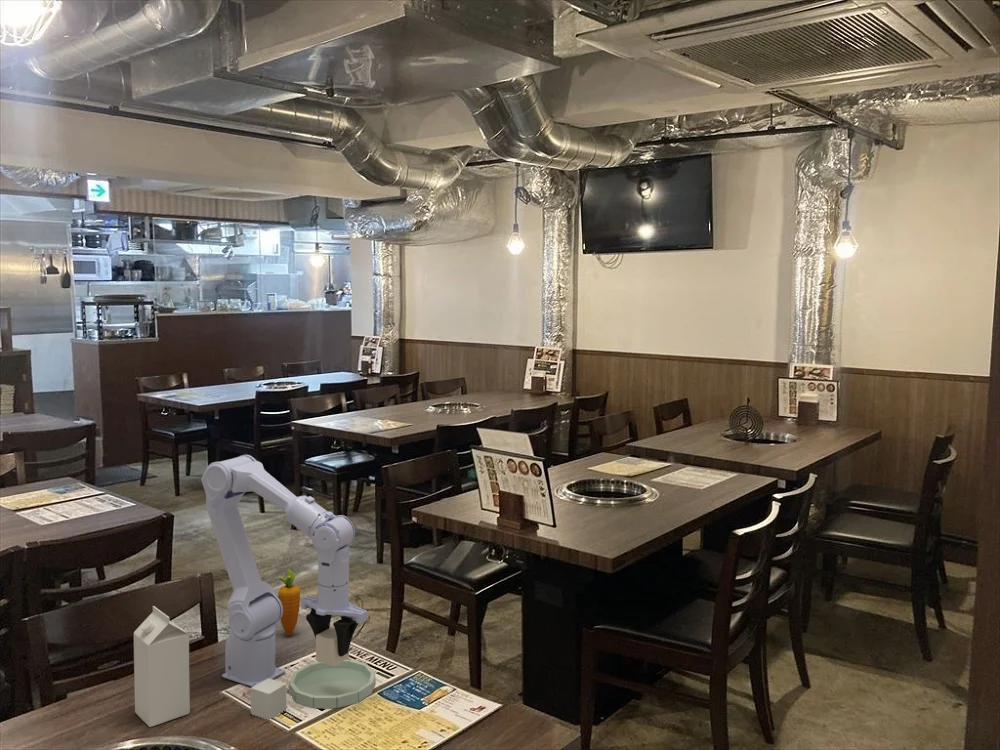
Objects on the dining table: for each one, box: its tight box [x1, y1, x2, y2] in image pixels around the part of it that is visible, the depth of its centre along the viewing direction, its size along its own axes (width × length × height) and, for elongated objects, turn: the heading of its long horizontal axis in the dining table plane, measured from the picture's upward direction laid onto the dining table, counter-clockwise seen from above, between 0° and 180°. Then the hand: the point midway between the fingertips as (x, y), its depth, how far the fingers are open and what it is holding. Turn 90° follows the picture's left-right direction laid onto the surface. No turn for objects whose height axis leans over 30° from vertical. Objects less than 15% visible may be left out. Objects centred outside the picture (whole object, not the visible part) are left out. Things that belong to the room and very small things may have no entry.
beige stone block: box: [315, 627, 350, 666], centre depth 149 cm, size 4×4×5 cm
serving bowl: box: [288, 658, 376, 709], centre depth 153 cm, size 16×16×2 cm
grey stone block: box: [250, 678, 288, 721], centre depth 143 cm, size 4×4×5 cm
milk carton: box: [133, 605, 191, 728], centre depth 141 cm, size 7×7×19 cm
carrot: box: [277, 568, 301, 636], centre depth 175 cm, size 5×5×15 cm
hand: (333, 651), depth 150 cm, fingers closed on beige stone block, 4 cm apart
